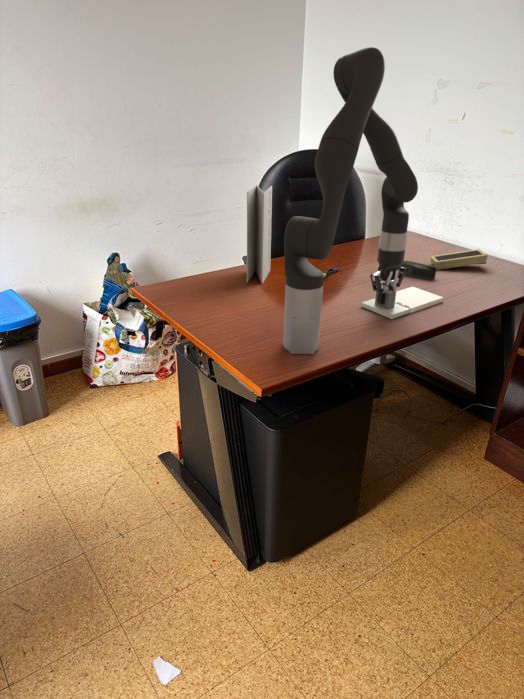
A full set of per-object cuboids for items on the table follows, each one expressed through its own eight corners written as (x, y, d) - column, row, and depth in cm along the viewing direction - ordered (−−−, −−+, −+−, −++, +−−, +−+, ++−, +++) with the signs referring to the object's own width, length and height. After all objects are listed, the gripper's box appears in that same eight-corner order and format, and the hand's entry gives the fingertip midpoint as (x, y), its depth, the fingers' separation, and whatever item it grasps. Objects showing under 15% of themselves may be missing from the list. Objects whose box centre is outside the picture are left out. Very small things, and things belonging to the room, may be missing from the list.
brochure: (262, 283, 179) (263, 193, 165) (246, 282, 180) (246, 192, 166) (270, 270, 191) (272, 185, 178) (255, 269, 192) (256, 185, 179)
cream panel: (412, 290, 175) (412, 286, 174) (442, 301, 167) (443, 297, 166) (379, 301, 166) (380, 296, 166) (410, 313, 158) (410, 308, 157)
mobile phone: (437, 265, 185) (395, 257, 191) (436, 267, 183) (393, 260, 189) (435, 278, 188) (393, 271, 194) (433, 281, 185) (391, 273, 191)
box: (488, 267, 195) (488, 254, 193) (427, 276, 196) (426, 263, 194) (479, 261, 202) (479, 248, 200) (420, 270, 203) (420, 257, 201)
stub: (378, 300, 166) (380, 281, 163) (409, 312, 157) (412, 293, 155) (361, 306, 162) (363, 286, 159) (391, 319, 153) (394, 298, 150)
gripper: (397, 239, 157) (390, 294, 165) (365, 247, 149) (359, 303, 157) (418, 245, 152) (409, 301, 159) (385, 253, 144) (378, 311, 152)
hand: (384, 302), depth 158 cm, fingers closed on stub, 3 cm apart
